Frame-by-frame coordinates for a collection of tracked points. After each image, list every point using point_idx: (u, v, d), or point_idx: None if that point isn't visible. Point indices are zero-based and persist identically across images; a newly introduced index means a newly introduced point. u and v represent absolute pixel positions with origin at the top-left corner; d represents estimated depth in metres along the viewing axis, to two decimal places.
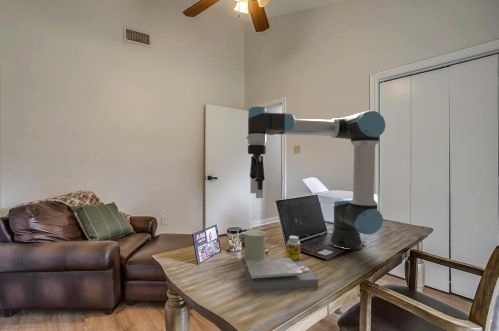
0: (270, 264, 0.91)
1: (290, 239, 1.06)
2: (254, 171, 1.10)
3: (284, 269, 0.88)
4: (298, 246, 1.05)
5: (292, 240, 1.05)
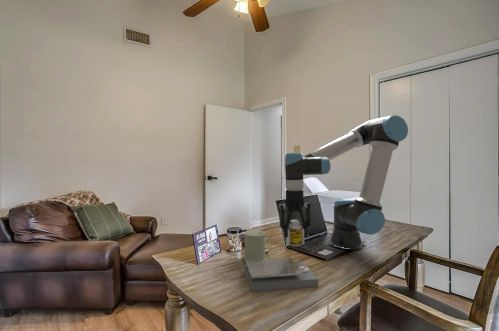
0: (270, 264, 0.91)
1: (291, 223, 1.06)
2: (300, 218, 1.07)
3: (284, 269, 0.88)
4: (299, 229, 1.05)
5: (293, 224, 1.05)
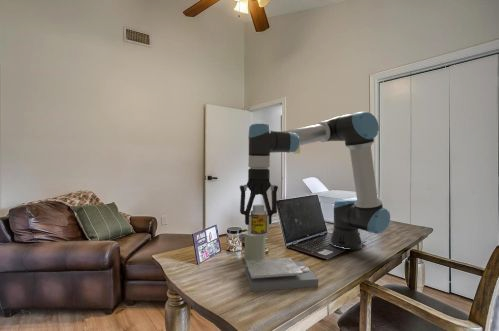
0: (270, 264, 0.91)
1: (254, 208, 0.88)
2: (265, 203, 0.89)
3: (284, 269, 0.88)
4: (263, 216, 0.87)
5: (256, 209, 0.87)
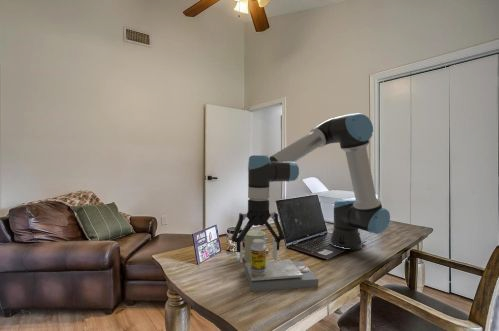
0: (270, 266, 0.91)
1: (254, 243, 0.88)
2: None
3: (284, 271, 0.88)
4: (263, 252, 0.87)
5: (256, 244, 0.87)
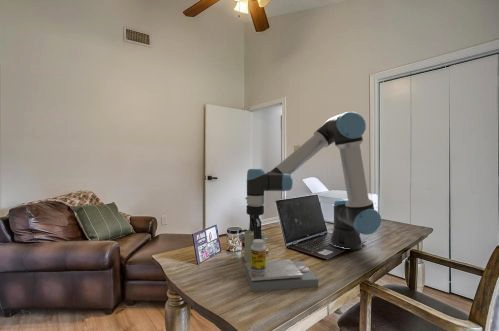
0: (270, 266, 0.91)
1: (254, 243, 0.88)
2: (253, 230, 1.11)
3: (284, 271, 0.88)
4: (263, 252, 0.87)
5: (256, 244, 0.87)
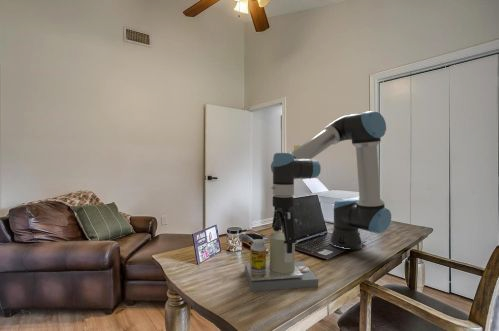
0: None
1: (254, 243, 0.88)
2: (278, 223, 0.95)
3: None
4: (263, 252, 0.87)
5: (256, 245, 0.87)
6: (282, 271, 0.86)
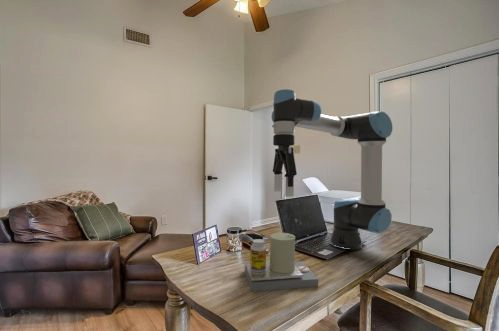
0: None
1: (254, 243, 0.88)
2: (279, 166, 0.95)
3: None
4: (263, 252, 0.87)
5: (256, 245, 0.87)
6: (282, 271, 0.86)
